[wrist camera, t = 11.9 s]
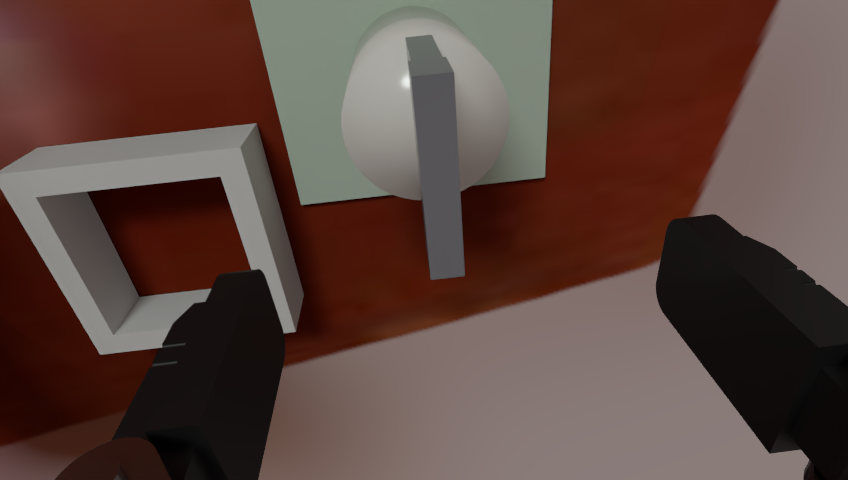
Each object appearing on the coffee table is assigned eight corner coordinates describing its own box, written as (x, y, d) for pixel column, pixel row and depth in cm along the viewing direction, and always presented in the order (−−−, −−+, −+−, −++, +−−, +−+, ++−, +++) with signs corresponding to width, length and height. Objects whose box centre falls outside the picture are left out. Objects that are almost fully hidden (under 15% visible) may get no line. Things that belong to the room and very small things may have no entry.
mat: (229, -90, 24) (227, -91, 24) (555, -125, 24) (558, -125, 24) (301, 202, 32) (300, 205, 32) (543, 174, 32) (544, 177, 32)
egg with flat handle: (362, 138, 30) (348, 289, 17) (342, 13, 26) (305, 87, 13) (476, 125, 30) (546, 266, 17) (472, -1, 26) (558, 60, 14)
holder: (38, 147, 29) (-8, 174, 26) (256, 123, 29) (240, 147, 26) (127, 315, 36) (100, 354, 33) (303, 295, 36) (295, 331, 33)
